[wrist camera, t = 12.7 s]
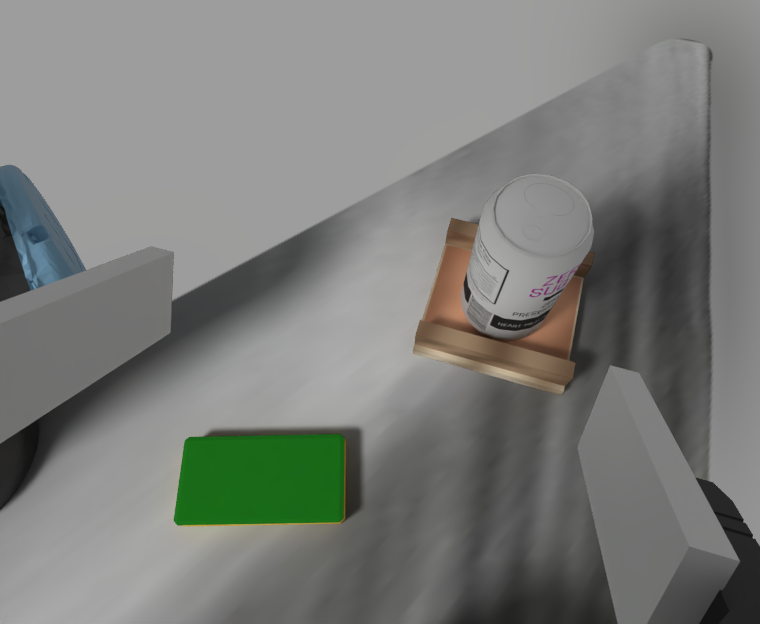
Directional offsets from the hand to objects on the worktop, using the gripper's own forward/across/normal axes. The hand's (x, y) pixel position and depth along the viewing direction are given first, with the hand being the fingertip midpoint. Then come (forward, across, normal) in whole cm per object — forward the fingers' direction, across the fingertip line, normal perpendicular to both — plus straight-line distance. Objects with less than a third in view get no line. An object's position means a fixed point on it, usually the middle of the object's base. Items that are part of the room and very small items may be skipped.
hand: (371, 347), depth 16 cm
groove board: (+37, +7, -10) cm, 39 cm away
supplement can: (+36, +6, -10) cm, 38 cm away
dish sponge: (+22, -10, -26) cm, 35 cm away
